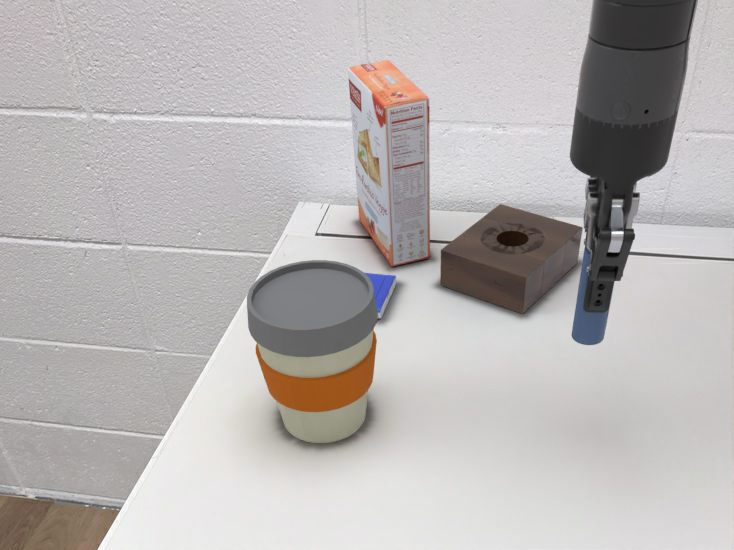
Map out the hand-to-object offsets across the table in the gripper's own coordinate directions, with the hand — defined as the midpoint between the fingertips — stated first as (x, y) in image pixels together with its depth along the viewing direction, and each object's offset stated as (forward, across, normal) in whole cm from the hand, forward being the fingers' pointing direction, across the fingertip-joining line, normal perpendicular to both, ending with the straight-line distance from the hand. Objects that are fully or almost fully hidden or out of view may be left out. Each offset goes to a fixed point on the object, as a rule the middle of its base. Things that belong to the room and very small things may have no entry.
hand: (594, 298), depth 73 cm
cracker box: (+15, +36, +23) cm, 45 cm away
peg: (+4, 0, 0) cm, 4 cm away
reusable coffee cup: (+15, -1, +26) cm, 30 cm away
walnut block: (+15, +28, +7) cm, 32 cm away
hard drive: (+15, +22, +28) cm, 38 cm away
